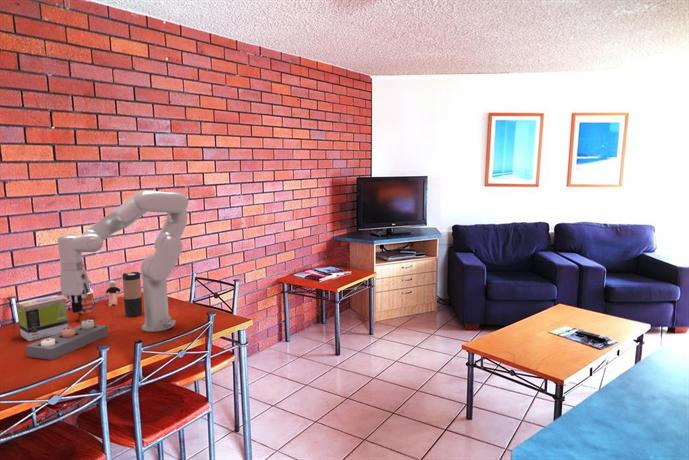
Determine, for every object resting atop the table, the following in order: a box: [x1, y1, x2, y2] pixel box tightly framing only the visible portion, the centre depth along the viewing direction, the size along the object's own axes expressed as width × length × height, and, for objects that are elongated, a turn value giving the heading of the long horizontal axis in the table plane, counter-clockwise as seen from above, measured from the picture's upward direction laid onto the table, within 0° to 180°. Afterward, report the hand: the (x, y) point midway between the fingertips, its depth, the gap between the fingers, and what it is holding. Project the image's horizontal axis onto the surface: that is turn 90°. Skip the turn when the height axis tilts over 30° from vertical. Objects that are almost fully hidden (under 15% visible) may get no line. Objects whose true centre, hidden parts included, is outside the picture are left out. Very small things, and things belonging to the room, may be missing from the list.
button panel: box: [25, 324, 109, 361], centre depth 179 cm, size 12×26×4 cm, turn 163°
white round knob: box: [41, 338, 55, 347], centre depth 170 cm, size 4×4×4 cm
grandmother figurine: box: [104, 280, 122, 307], centre depth 233 cm, size 8×4×13 cm, turn 132°
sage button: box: [80, 319, 95, 331], centre depth 187 cm, size 4×4×4 cm
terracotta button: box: [62, 326, 76, 339], centre depth 179 cm, size 4×4×4 cm
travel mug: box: [122, 271, 143, 318], centre depth 216 cm, size 8×8×20 cm
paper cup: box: [77, 287, 94, 322], centre depth 210 cm, size 8×8×14 cm
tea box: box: [16, 294, 70, 342], centre depth 191 cm, size 15×10×15 cm
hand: (77, 311), depth 182 cm, fingers closed
